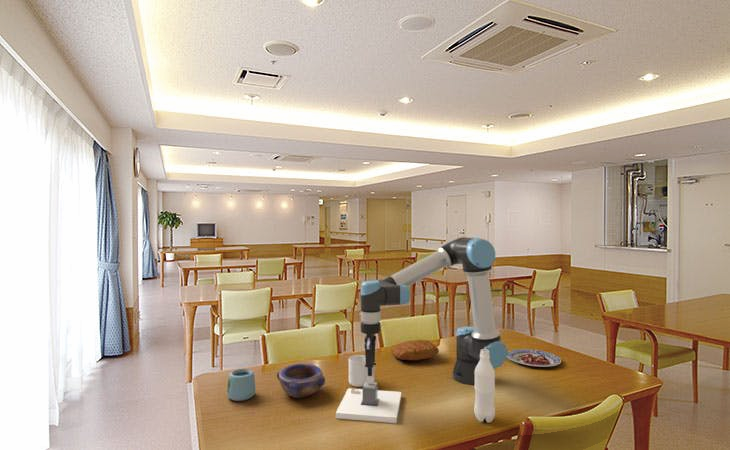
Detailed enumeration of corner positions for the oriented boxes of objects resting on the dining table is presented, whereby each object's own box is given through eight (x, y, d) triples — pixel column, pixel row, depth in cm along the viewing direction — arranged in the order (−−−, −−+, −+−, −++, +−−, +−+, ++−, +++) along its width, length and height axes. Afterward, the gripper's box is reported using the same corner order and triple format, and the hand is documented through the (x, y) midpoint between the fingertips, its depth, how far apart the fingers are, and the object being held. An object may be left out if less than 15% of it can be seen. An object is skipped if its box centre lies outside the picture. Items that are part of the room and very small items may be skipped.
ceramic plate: (564, 358, 214) (564, 353, 214) (557, 374, 192) (557, 368, 192) (512, 350, 228) (512, 344, 228) (500, 364, 206) (501, 358, 206)
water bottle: (471, 415, 151) (471, 347, 151) (490, 414, 152) (490, 346, 152) (478, 424, 144) (478, 353, 144) (498, 424, 145) (498, 353, 144)
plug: (377, 404, 160) (377, 382, 160) (375, 410, 155) (375, 387, 155) (364, 403, 161) (364, 381, 161) (362, 409, 156) (362, 386, 156)
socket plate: (401, 396, 167) (401, 389, 167) (396, 423, 145) (396, 414, 145) (348, 393, 171) (348, 385, 171) (335, 418, 149) (335, 409, 149)
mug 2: (370, 387, 177) (370, 361, 177) (350, 388, 175) (350, 362, 175) (365, 376, 189) (365, 352, 189) (346, 377, 187) (346, 353, 187)
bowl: (286, 407, 158) (286, 381, 158) (273, 390, 174) (273, 366, 174) (329, 398, 166) (329, 373, 166) (313, 382, 182) (313, 359, 182)
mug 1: (225, 390, 174) (225, 366, 173) (252, 386, 178) (252, 363, 178) (228, 404, 160) (228, 379, 160) (257, 400, 164) (257, 375, 164)
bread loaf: (427, 352, 224) (427, 337, 224) (440, 362, 208) (440, 346, 207) (388, 355, 219) (388, 340, 218) (399, 366, 202) (399, 350, 202)
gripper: (363, 317, 165) (363, 376, 165) (357, 325, 152) (357, 389, 152) (382, 318, 163) (382, 377, 164) (377, 326, 151) (377, 390, 151)
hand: (370, 383), depth 158 cm, fingers closed
